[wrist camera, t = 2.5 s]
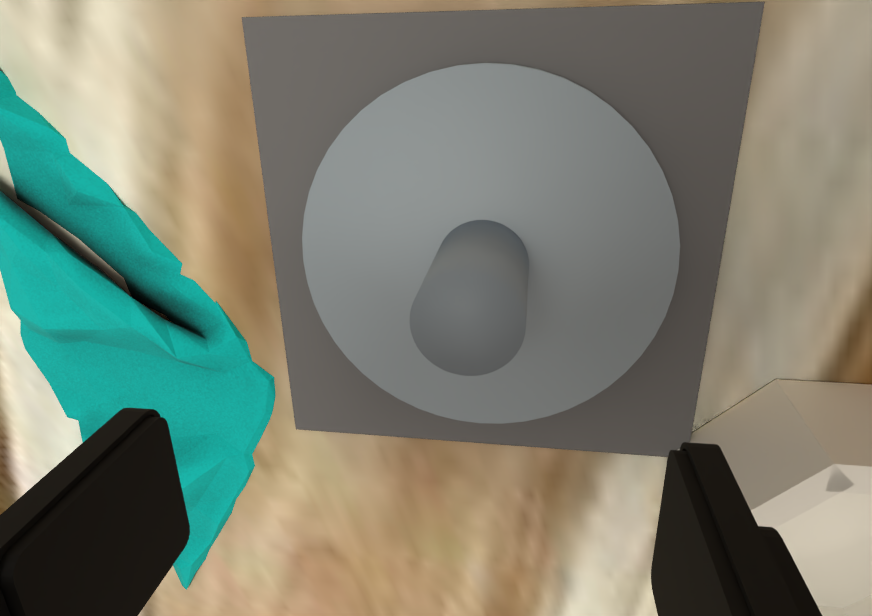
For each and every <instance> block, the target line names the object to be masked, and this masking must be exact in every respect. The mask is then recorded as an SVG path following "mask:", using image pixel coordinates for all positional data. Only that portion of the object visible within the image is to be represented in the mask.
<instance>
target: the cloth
mask: <svg viewBox="0 0 872 616" xmlns="http://www.w3.org/2000/svg"><path fill="white" fill-rule="evenodd" d="M0 140H1V142H2V145H3V147H4V150H5V154H6V158H7V162H8V165H9V169H10V173H11V176H12V180H13V184H14V188H15V191H16V195H17V199H19V200H20V201H22V202H24V203H26V204H27V205H29V206H31V207H33V208H35V209H36V210H38V211H40V212H41V213H43V214H44V215H46V216H47V217H48V218H50V219H51V220H53V221H54V222H56V223H57V224H59V225H60V226H61V227H63V228H64V229H66V230H67V231H69V232H70V233H71V234H73V235H74V236H76V237H77V238H79V239H80V240H81V241H82V242H83V243H84V244H85V245H87V246H88V247H89V248H90V249H91V250H92V251H93V252H95V253H96V254H97V255H98V256H99V257H100V258H102V259H103V260H104V261H105V262H106V263H107V264H108V265H110V266H111V267H112V268H113V269H114V270H115V271H117V272H118V273H119V274H120V275H121V276H122V277H123V278H124V279H125V281H126V284H127V286H128V289H129V291H130V294H131V296H132V297H130V296H129V295H128V294H127V293H126V292H125V291H123V290H122V289H121V288H120V287H119V286H118V285H117V284H116V283H115V282H114V281H113V280H112V279H110V278H109V277H108V276H107V275H106V274H105V273H104V272H103V271H101V270H100V269H99V268H97V267H96V266H95V265H93V264H92V263H91V262H89V261H88V260H87V259H85V258H84V257H83V256H81V255H80V254H79V253H77V252H76V251H75V250H73V249H72V248H71V247H69V246H68V245H67V244H65V243H64V242H63V241H61V240H60V239H59V238H57V237H56V236H55V235H53V234H52V233H51V232H49V231H48V230H47V229H46V228H44V227H43V226H42V225H41V224H40V223H38V222H37V221H36V220H35V219H34V218H32V217H31V216H30V215H29V214H28V213H26V212H25V211H24V210H23V209H22V208H20V207H19V206H18V205H17V204H16V203H14V202H13V201H12V200H11V199H10V198H9V197H7V196H6V195H5V194H4V193H3V192H1V191H0V271H1V274H2V278H3V282H4V285H5V289H6V293H7V296H8V300H9V304H10V307H11V309H12V311H13V312H14V313H15V314H16V315H17V316H18V317H19V319H20V320H21V337H22V340H23V343H24V346H25V349H26V351H27V352H28V354H29V355H30V356H31V358H32V359H33V361H34V362H35V363H36V365H37V366H38V368H39V369H40V371H41V372H42V373H43V375H44V376H45V378H46V379H47V380H48V382H49V383H50V385H51V387H52V389H53V391H54V393H55V395H56V397H57V398H58V400H59V402H60V404H61V406H62V408H63V410H64V412H65V414H66V415H67V417H69V418H72V419H76V420H79V426H80V431H81V436H82V441H83V442H84V441H86V440H87V439H88V438H89V437H90V436H91V435H92V434H94V433H95V432H96V431H97V430H98V429H99V428H100V427H102V426H103V425H104V424H105V423H106V422H107V421H108V420H110V419H111V418H112V417H113V416H114V415H115V414H116V413H118V412H119V411H120V410H122V409H123V408H143V409H154V410H156V411H158V413H159V414H160V416H161V417H163V418H165V419H166V421H167V423H168V426H169V431H170V436H171V440H172V445H173V450H174V454H175V459H176V464H177V469H178V473H179V478H180V483H181V487H182V492H183V497H184V501H185V506H186V511H187V515H188V520H189V525H190V535H189V540H188V542H187V545H186V546H185V548H184V550H183V551H182V552H181V554H180V555H179V557H178V558H177V560H176V561H175V563H174V564H173V566H174V568H175V571H176V573H177V575H178V577H179V579H180V581H181V584H182V586H183V587H184V588H185V589H186V590H187V588H188V586H189V585H190V583H191V581H192V579H193V577H194V575H195V573H196V572H197V570H198V569H199V567H200V566H201V565H202V563H203V562H204V560H205V559H206V557H207V554H208V552H209V549H210V548H211V546H212V544H213V543H214V541H215V540H216V538H217V537H218V535H219V533H220V531H221V530H222V528H223V526H224V525H225V523H226V521H227V519H228V518H229V516H230V514H231V513H232V510H233V507H234V504H235V501H236V499H237V497H238V496H239V494H240V493H241V491H242V490H243V489H244V487H245V486H246V483H247V481H248V479H249V477H250V475H251V473H252V471H253V469H254V466H255V465H254V460H253V456H252V453H253V452H254V450H255V448H256V446H257V444H258V442H259V440H260V438H261V436H262V434H263V432H264V430H265V428H266V426H267V424H268V422H269V420H270V417H271V414H272V411H273V406H274V401H275V384H274V377H273V376H272V375H270V374H269V373H268V372H266V371H265V370H264V369H262V368H261V367H260V366H258V365H257V364H256V363H254V362H253V361H252V359H251V355H250V352H249V348H248V344H247V342H246V340H245V339H244V338H243V336H242V335H241V334H240V332H239V331H238V329H237V328H236V327H235V325H234V324H233V323H232V321H231V320H230V319H229V317H228V316H227V315H226V313H225V312H224V311H223V309H222V308H221V307H220V305H219V304H218V303H217V301H216V303H215V302H214V301H213V300H212V299H211V298H210V297H209V296H208V295H207V294H206V293H205V292H204V291H203V290H202V289H201V287H200V286H199V285H198V284H197V283H196V282H195V281H194V280H192V279H189V278H187V277H185V276H183V275H181V274H180V272H181V267H182V263H181V262H180V261H179V260H178V259H177V258H176V257H175V256H174V255H173V254H172V253H171V252H170V251H169V250H168V249H167V248H166V246H165V245H164V244H163V243H162V242H161V241H160V240H159V239H158V238H157V237H156V236H155V235H154V234H153V233H152V232H151V231H150V230H149V229H148V228H147V226H146V225H145V224H144V222H143V221H142V220H141V219H140V217H139V216H138V215H137V214H136V213H135V212H134V211H132V210H131V209H129V208H128V207H126V206H125V205H123V204H122V203H121V201H120V200H119V199H118V197H117V196H116V195H115V193H114V192H113V191H112V189H111V188H110V187H109V185H108V184H107V183H106V182H105V181H103V180H102V179H101V178H100V177H99V176H97V175H96V174H95V173H94V172H92V171H91V170H90V169H89V168H88V167H86V166H85V165H84V164H83V163H81V162H80V161H79V160H78V159H77V158H75V157H74V156H73V155H72V154H70V153H69V149H68V146H67V142H66V139H65V138H64V137H63V136H62V135H61V134H60V133H59V132H58V131H57V130H56V129H55V128H54V127H53V126H52V125H51V124H50V123H49V122H48V121H47V120H46V119H45V118H44V117H43V116H42V115H41V114H39V113H38V112H37V111H36V110H35V109H33V108H32V107H31V106H29V105H28V104H27V103H26V102H24V101H23V100H22V99H20V98H19V97H18V96H17V95H16V92H15V90H14V88H13V86H12V84H11V83H10V81H9V79H8V77H7V76H6V75H5V74H4V73H2V72H1V71H0ZM142 304H143V305H142ZM144 305H145V306H147V307H150V308H152V309H154V310H157V311H159V312H161V313H163V314H164V315H165V316H166V317H167V318H169V319H170V320H171V321H172V322H173V323H172V322H169V321H167V320H165V319H163V318H162V317H160V316H159V315H157V314H156V313H154V312H153V311H151V310H150V309H148V308H147V307H145V306H144Z"/></svg>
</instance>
